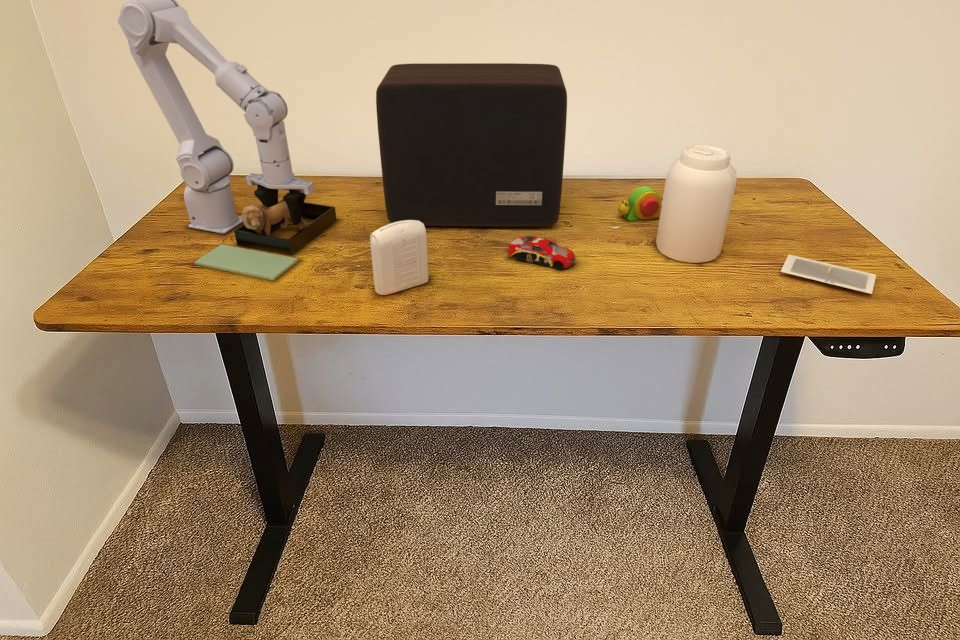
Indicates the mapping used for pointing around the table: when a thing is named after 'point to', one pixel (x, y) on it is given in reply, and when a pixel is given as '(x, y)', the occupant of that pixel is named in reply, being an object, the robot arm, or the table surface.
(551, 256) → the race car
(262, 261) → the sage mat
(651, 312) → the table surface
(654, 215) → the toy snail
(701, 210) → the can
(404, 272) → the photo printer
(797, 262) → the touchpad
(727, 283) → the table surface
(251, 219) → the lion figurine
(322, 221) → the picture frame
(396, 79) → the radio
